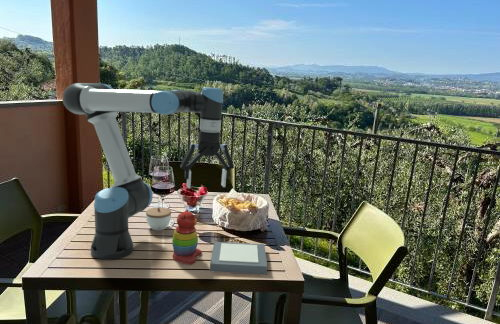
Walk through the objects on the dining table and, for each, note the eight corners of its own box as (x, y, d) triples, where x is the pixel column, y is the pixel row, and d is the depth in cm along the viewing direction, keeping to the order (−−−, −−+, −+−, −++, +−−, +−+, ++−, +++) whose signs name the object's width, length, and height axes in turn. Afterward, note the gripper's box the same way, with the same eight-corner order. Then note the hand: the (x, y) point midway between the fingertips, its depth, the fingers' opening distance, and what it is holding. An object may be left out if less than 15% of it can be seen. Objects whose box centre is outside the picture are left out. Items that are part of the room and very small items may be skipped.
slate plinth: (209, 271, 129) (210, 262, 128) (213, 248, 147) (214, 240, 146) (266, 274, 130) (267, 265, 129) (263, 251, 147) (264, 243, 147)
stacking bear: (193, 265, 133) (194, 219, 129) (167, 261, 134) (167, 215, 131) (203, 252, 143) (204, 209, 139) (178, 248, 145) (179, 205, 141)
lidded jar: (150, 222, 169) (150, 203, 167) (173, 224, 169) (173, 204, 167) (142, 231, 158) (142, 211, 156) (167, 233, 158) (167, 212, 156)
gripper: (178, 131, 125) (175, 191, 130) (245, 133, 135) (240, 188, 140) (173, 128, 132) (170, 184, 137) (238, 130, 142) (233, 182, 147)
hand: (206, 186), depth 138 cm, fingers open, 13 cm apart
